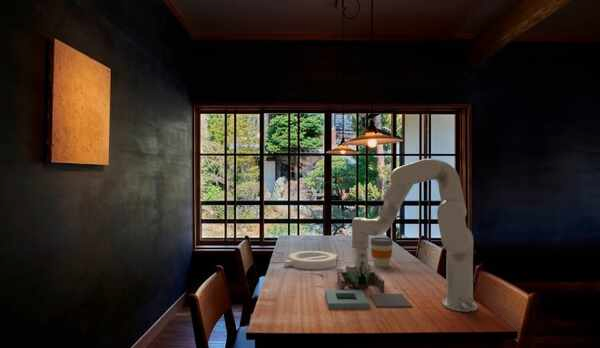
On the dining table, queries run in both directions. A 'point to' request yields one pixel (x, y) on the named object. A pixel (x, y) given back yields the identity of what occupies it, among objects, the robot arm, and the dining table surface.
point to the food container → (356, 277)
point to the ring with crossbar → (312, 260)
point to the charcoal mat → (390, 300)
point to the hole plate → (346, 299)
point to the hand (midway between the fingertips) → (360, 282)
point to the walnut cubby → (373, 278)
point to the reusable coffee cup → (381, 251)
